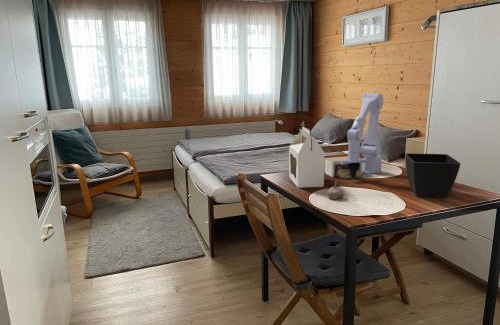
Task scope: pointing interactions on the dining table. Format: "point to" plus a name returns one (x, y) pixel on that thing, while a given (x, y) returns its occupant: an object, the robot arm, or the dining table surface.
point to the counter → (333, 162)
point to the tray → (344, 172)
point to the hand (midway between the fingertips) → (353, 176)
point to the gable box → (306, 161)
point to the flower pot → (431, 174)
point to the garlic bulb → (335, 192)
